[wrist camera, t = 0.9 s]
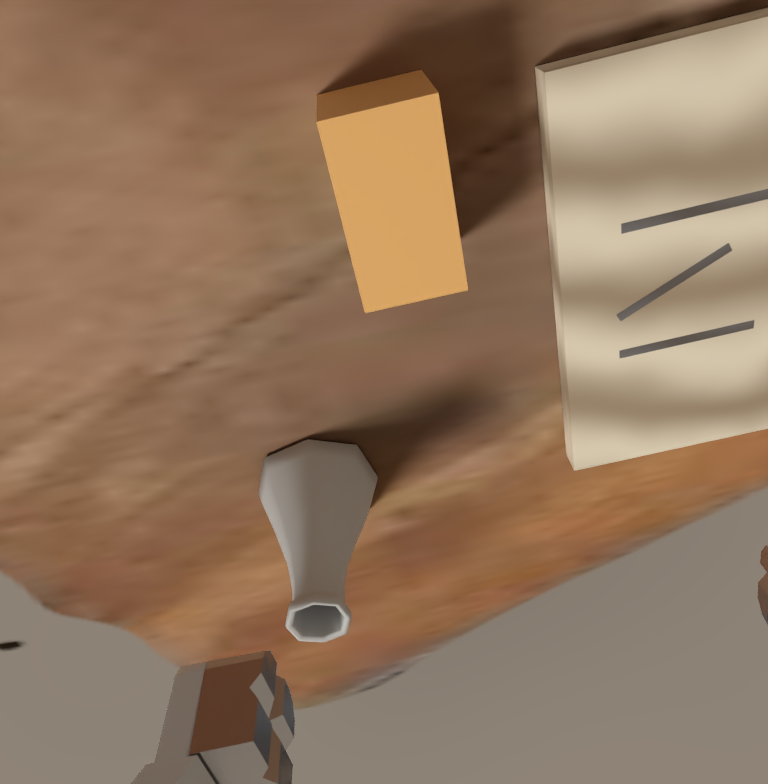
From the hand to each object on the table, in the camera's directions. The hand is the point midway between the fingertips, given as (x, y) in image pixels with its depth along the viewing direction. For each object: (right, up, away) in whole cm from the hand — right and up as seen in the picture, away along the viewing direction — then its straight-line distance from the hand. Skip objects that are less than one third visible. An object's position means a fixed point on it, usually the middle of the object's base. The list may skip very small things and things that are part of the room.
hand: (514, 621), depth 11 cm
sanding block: (-2, +14, +19) cm, 24 cm away
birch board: (+12, +10, +23) cm, 28 cm away
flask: (-6, -2, +30) cm, 30 cm away
